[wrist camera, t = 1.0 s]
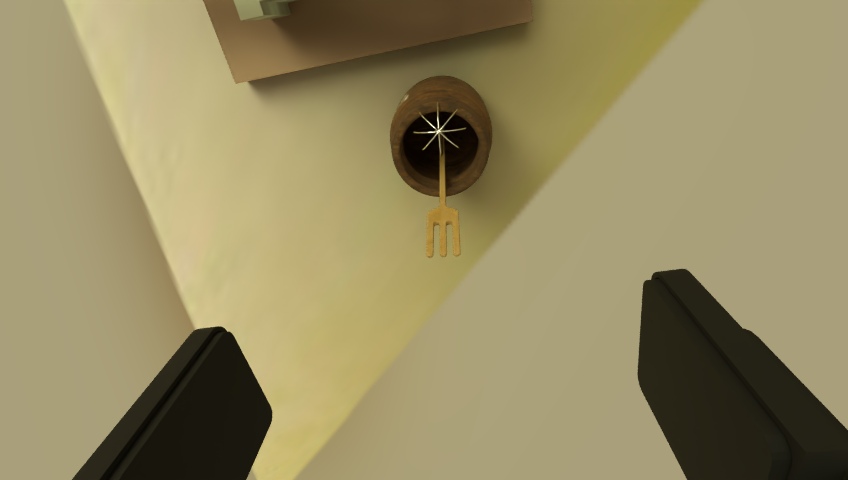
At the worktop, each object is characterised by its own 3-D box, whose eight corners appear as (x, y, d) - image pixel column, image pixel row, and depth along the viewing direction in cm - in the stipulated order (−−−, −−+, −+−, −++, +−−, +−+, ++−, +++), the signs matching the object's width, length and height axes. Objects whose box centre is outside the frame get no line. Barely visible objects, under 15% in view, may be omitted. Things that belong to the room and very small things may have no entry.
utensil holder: (485, 68, 26) (511, 107, 15) (487, 165, 29) (510, 254, 18) (392, 77, 26) (355, 120, 16) (403, 171, 29) (378, 260, 19)
